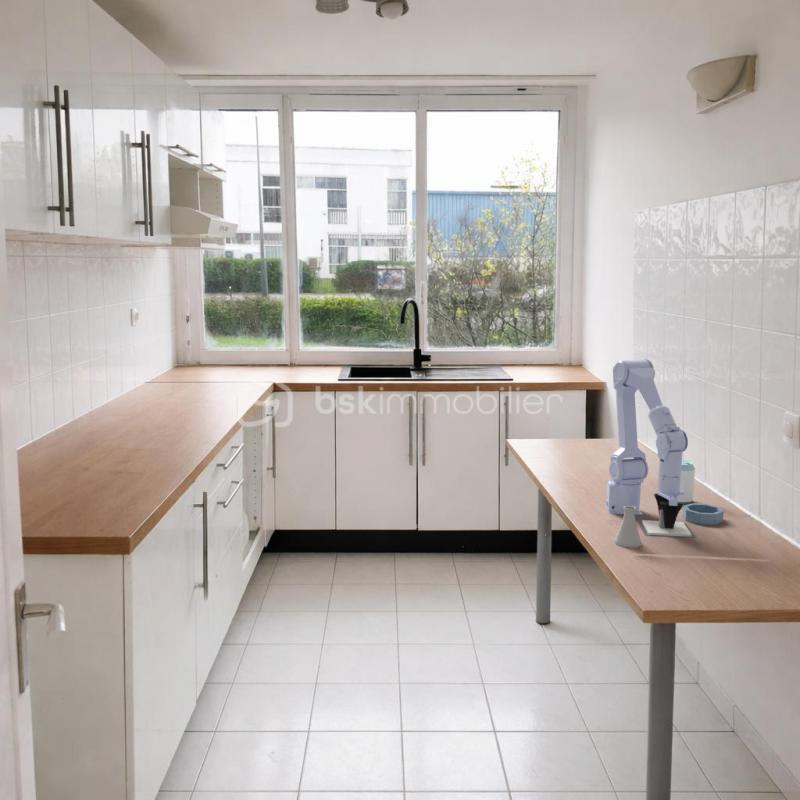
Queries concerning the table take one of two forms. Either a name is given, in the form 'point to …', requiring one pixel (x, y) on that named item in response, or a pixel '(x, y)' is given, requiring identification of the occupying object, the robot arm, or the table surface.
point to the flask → (628, 530)
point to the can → (687, 482)
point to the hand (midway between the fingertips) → (666, 524)
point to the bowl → (703, 514)
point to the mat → (664, 535)
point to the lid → (659, 528)
